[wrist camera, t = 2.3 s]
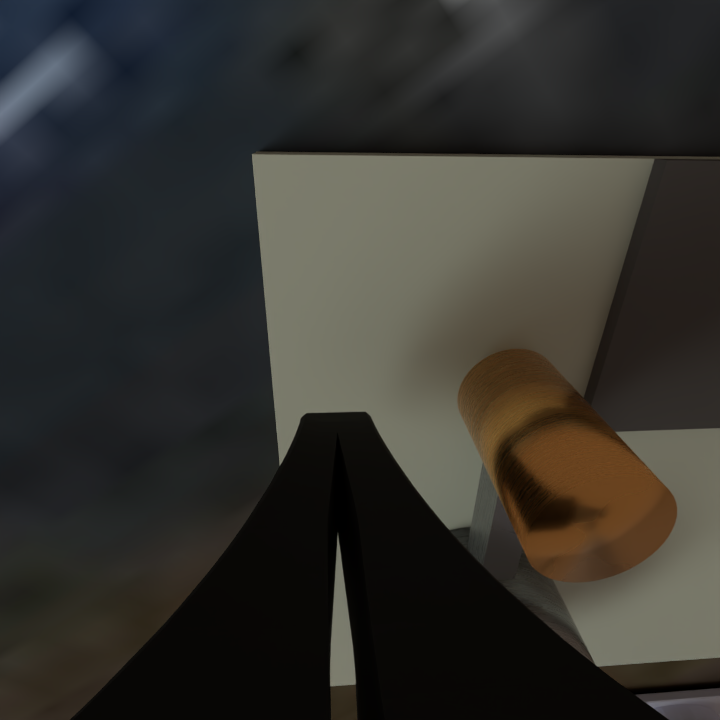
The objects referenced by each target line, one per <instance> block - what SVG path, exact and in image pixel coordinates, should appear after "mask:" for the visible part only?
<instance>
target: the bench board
mask: <svg viewBox="0 0 720 720" xmlns="http://www.w3.org/2000/svg"><path fill="white" fill-rule="evenodd" d="M654 159H720V157H692V156H603V155H514V154H425V153H336V152H255V153H254V154H252V160H253V171H254V182H255V193H256V204H257V216H258V227H259V238H260V249H261V260H262V271H263V282H264V294H265V305H266V316H267V327H268V338H269V349H270V360H271V371H272V383H273V394H274V405H275V416H276V427H277V438H278V449H279V461H280V465H281V463H282V461H283V459H284V458H285V456H286V454H287V452H288V449H289V447H290V445H291V443H292V441H293V439H294V436H295V434H296V431H297V429H298V426H299V423H300V419H301V417H302V416H304V415H305V414H306V413H327V412H367V413H368V414H369V415H370V416H371V418H372V420H373V422H374V424H375V426H376V428H377V430H378V432H379V434H380V436H381V437H382V439H383V441H384V442H385V444H386V446H387V447H388V449H389V451H390V452H391V454H392V455H393V457H394V458H395V460H396V461H397V463H398V464H399V466H400V467H401V469H402V470H403V472H404V473H405V474H406V476H407V477H408V479H409V480H410V481H411V483H412V484H413V486H414V487H415V488H416V490H417V491H418V492H419V494H420V495H421V496H422V498H423V499H424V500H425V501H426V503H427V504H428V505H429V506H430V508H431V509H432V510H433V511H434V512H435V514H436V515H437V516H438V517H439V519H440V520H441V521H442V522H443V523H444V524H445V526H446V527H447V528H448V529H449V530H452V529H457V528H464V527H471V523H472V517H473V512H474V506H475V501H476V496H477V490H478V485H479V480H480V474H481V469H482V463H483V462H482V460H481V457H480V455H479V453H478V451H477V449H476V447H475V444H474V442H473V440H472V438H471V436H470V434H469V432H468V429H467V427H466V425H465V423H464V421H463V419H462V417H461V414H460V412H459V409H458V402H457V399H458V392H459V388H460V386H461V383H462V381H463V379H464V378H465V376H466V375H467V373H468V372H469V371H470V370H471V369H472V368H473V367H474V366H475V365H476V364H477V363H479V362H480V361H481V360H483V359H484V358H486V357H488V356H490V355H492V354H494V353H497V352H500V351H504V350H509V349H526V350H531V351H534V352H537V353H539V354H541V355H543V356H544V357H545V358H547V359H548V360H549V361H550V362H551V363H552V364H553V366H554V367H555V368H556V369H557V370H558V371H559V372H560V373H561V374H562V375H563V376H564V377H565V378H566V380H567V381H568V382H569V383H570V384H571V385H572V386H573V387H574V388H575V389H576V390H577V391H578V392H579V394H580V395H581V396H582V397H583V398H584V395H585V392H586V388H587V385H588V382H589V378H590V375H591V371H592V368H593V365H594V361H595V358H596V355H597V351H598V348H599V345H600V341H601V338H602V334H603V331H604V328H605V324H606V321H607V318H608V314H609V311H610V308H611V304H612V301H613V297H614V294H615V291H616V287H617V284H618V281H619V277H620V274H621V270H622V267H623V264H624V260H625V257H626V254H627V250H628V247H629V244H630V240H631V237H632V233H633V230H634V227H635V223H636V220H637V217H638V213H639V210H640V207H641V203H642V200H643V196H644V193H645V190H646V186H647V183H648V180H649V176H650V173H651V170H652V166H653V163H654ZM616 433H617V434H618V436H619V437H620V438H621V439H622V440H623V441H624V442H625V443H626V444H627V445H628V446H629V447H630V448H631V449H632V451H633V452H634V453H635V454H636V455H637V456H638V457H639V458H640V459H641V460H642V461H643V462H644V463H645V465H646V466H647V467H648V468H649V469H650V470H651V471H652V472H653V473H654V474H655V475H656V476H657V477H658V479H659V480H660V481H661V482H662V483H663V484H664V485H665V486H666V487H667V488H668V489H669V490H670V492H671V493H672V495H673V496H674V498H675V501H676V504H677V518H676V522H675V525H674V527H673V530H672V532H671V533H670V535H669V537H668V538H667V539H666V541H665V542H664V543H663V544H662V545H661V547H660V548H659V549H658V550H657V551H655V552H654V553H653V554H652V555H651V556H650V557H648V558H647V559H646V560H644V561H643V562H641V563H640V564H638V565H636V566H635V567H633V568H631V569H629V570H627V571H625V572H622V573H620V574H617V575H615V576H612V577H609V578H605V579H601V580H596V581H591V582H579V583H572V582H562V581H557V580H553V581H554V583H555V585H556V587H557V589H558V591H559V593H560V595H561V597H562V599H563V601H564V603H565V605H566V607H567V609H568V611H569V613H570V615H571V617H572V619H573V621H574V623H575V625H576V627H577V629H578V631H579V633H580V635H581V637H582V639H583V641H584V643H585V645H586V647H587V649H588V651H589V653H590V655H591V657H592V659H593V661H594V663H595V665H596V666H610V665H623V664H637V663H650V662H664V661H677V660H691V659H704V658H718V657H720V428H710V429H682V430H653V431H625V432H616ZM354 684H356V679H355V665H354V654H353V644H352V636H351V629H350V621H349V613H348V606H347V598H346V591H345V583H344V576H343V568H342V561H341V553H340V545H339V538H338V539H337V555H336V571H335V587H334V603H333V619H332V635H331V658H330V686H340V685H354Z"/></svg>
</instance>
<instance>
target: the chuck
mask: <svg viewBox="0 0 720 720" xmlns="http://www.w3.org/2000/svg"><path fill="white" fill-rule="evenodd" d="M470 528H471V527H464V528H457V529H452V530H450V531H451V532H452V534H453V535H454V536H455V537H456V538H457V539H458V540H459V541H460V542H461V543H462V544H463V546H464V547H465V548H466V549H467V550H468V551H469V548H468V545H467V544H468V539H469V533H470ZM469 552H470V551H469ZM498 581H499V582H500V583H501V584H502V585H503V586H504V587H505V588H506V589H507V590H508V591H510V592H511V593H512V594H513V595H514V596H515V597H516V598H517V599H519V600H520V601H521V602H522V603H523V604H524V605H525V606H526V607H528V608H529V609H530V610H531V611H532V612H533V613H534V614H535V615H537V616H538V617H539V618H540V619H541V620H542V621H543V622H545V623H546V624H547V625H548V626H549V627H550V628H551V629H552V630H554V631H555V632H556V633H557V634H558V635H559V636H560V637H561V638H563V639H564V640H565V641H566V642H568V643H569V644H570V645H571V646H573V647H574V648H575V649H576V650H577V651H579V652H580V653H581V654H582V655H584V656H585V657H586V658H587V659H589V660H590V661H591V662H592V663H594V661H593V659H592V657H591V655H590V653H589V651H588V649H587V647H586V645H585V643H584V641H583V639H582V637H581V635H580V633H579V631H578V629H577V627H576V625H575V623H574V621H573V619H572V617H571V615H570V613H569V611H568V609H567V607H566V605H565V603H564V601H563V599H562V597H561V595H560V593H559V591H558V589H557V587H556V585H555V583H554V581H553V579H550V578H548V577H546V576H543V575H542V574H540V573H539V572H537V571H536V570H535V569H534V568H533V567H532V565H531V564H530V563H529V561H528V558H527V556H526V554H525V552H524V550H522V553H521V557H520V561H519V564H518V568H517V572H516V575H515V579H499V580H498ZM594 664H595V663H594Z"/></svg>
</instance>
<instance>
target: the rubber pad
mask: <svg viewBox="0 0 720 720" xmlns="http://www.w3.org/2000/svg"><path fill="white" fill-rule="evenodd" d="M584 399H585V400H586V401H587V402H588V403H589V404H590V405H591V406H592V408H593V409H594V410H595V411H596V412H597V413H598V414H599V415H600V416H601V417H602V418H603V419H604V420H605V422H606V423H607V424H608V425H609V426H610V427H611V428H612V429H613V430H614V431H615V432H625V431H653V430H682V429H710V428H720V159H654V163H653V166H652V170H651V173H650V176H649V180H648V183H647V186H646V190H645V193H644V196H643V200H642V203H641V207H640V210H639V213H638V217H637V220H636V223H635V227H634V230H633V233H632V237H631V240H630V244H629V247H628V250H627V254H626V257H625V260H624V264H623V267H622V270H621V274H620V277H619V281H618V284H617V287H616V291H615V294H614V297H613V301H612V304H611V308H610V311H609V314H608V318H607V321H606V324H605V328H604V331H603V334H602V338H601V341H600V345H599V348H598V351H597V355H596V358H595V361H594V365H593V368H592V371H591V375H590V378H589V382H588V385H587V388H586V392H585V395H584Z"/></svg>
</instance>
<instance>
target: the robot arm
mask: <svg viewBox="0 0 720 720" xmlns="http://www.w3.org/2000/svg"><path fill="white" fill-rule="evenodd" d="M338 538H339V545H340V553H341V561H342V568H343V576H344V583H345V591H346V598H347V606H348V613H349V621H350V629H351V636H352V644H353V654H354V665H355V679H356V699H357V718H358V720H720V688H711V689H699V690H686V691H674V692H661V693H648V694H636V695H634V694H633V693H632V692H630V691H629V690H628V689H626V688H625V687H623V686H622V685H621V684H619V683H618V682H617V681H615V680H614V679H612V678H611V677H610V676H609V675H607V674H606V673H605V672H603V671H602V670H601V669H600V668H599V667H597V666H596V665H595V664H594V663H592V662H591V661H590V660H589V659H587V658H586V657H585V656H584V655H582V654H581V653H580V652H579V651H577V650H576V649H575V648H574V647H573V646H571V645H570V644H569V643H568V642H566V641H565V640H564V639H563V638H561V637H560V636H559V635H558V634H557V633H556V632H555V631H554V630H552V629H551V628H550V627H549V626H548V625H547V624H546V623H545V622H543V621H542V620H541V619H540V618H539V617H538V616H537V615H535V614H534V613H533V612H532V611H531V610H530V609H529V608H528V607H526V606H525V605H524V604H523V603H522V602H521V601H520V600H519V599H517V598H516V597H515V596H514V595H513V594H512V593H511V592H510V591H508V590H507V589H506V588H505V587H504V586H503V585H502V584H501V583H500V582H499V581H498V580H497V579H496V578H495V577H494V576H493V575H492V574H491V573H490V572H489V571H488V570H487V569H486V568H485V567H484V566H483V565H482V564H481V563H480V562H479V561H478V560H477V559H476V558H475V557H474V556H473V555H472V554H471V553H470V552H469V551H468V550H467V549H466V548H465V547H464V546H463V544H462V543H461V542H460V541H459V540H458V539H457V538H456V537H455V536H454V535H453V534H452V532H451V531H450V530H449V529H448V528H447V527H446V526H445V524H444V523H443V522H442V521H441V520H440V519H439V517H438V516H437V515H436V514H435V512H434V511H433V510H432V509H431V508H430V506H429V505H428V504H427V503H426V501H425V500H424V499H423V498H422V496H421V495H420V494H419V492H418V491H417V490H416V488H415V487H414V486H413V484H412V483H411V481H410V480H409V479H408V477H407V476H406V474H405V473H404V472H403V470H402V469H401V467H400V466H399V464H398V463H397V461H396V460H395V458H394V457H393V455H392V454H391V452H390V451H389V449H388V447H387V446H386V444H385V442H384V441H383V439H382V437H381V436H380V434H379V432H378V430H377V428H376V426H375V424H374V422H373V420H372V418H371V416H370V415H369V414H368V413H367V412H327V413H306V414H305V415H304V416H302V417H301V419H300V423H299V426H298V429H297V431H296V434H295V436H294V439H293V441H292V443H291V445H290V447H289V449H288V452H287V454H286V456H285V458H284V459H283V461H282V463H281V465H280V467H279V469H278V470H277V472H276V474H275V476H274V478H273V480H272V481H271V483H270V485H269V487H268V488H267V490H266V491H265V493H264V495H263V496H262V498H261V499H260V501H259V502H258V504H257V506H256V507H255V509H254V510H253V512H252V513H251V515H250V516H249V518H248V520H247V521H246V523H245V524H244V525H243V527H242V528H241V530H240V531H239V533H238V534H237V535H236V537H235V538H234V540H233V541H232V542H231V544H230V545H229V546H228V548H227V549H226V550H225V552H224V553H223V554H222V556H221V557H220V558H219V559H218V561H217V562H216V563H215V565H214V566H213V567H212V568H211V570H210V571H209V572H208V573H207V575H206V576H205V577H204V578H203V579H202V581H201V582H200V583H199V584H198V585H197V587H196V588H195V589H194V590H193V591H192V593H191V594H190V595H189V596H188V597H187V598H186V600H185V601H184V602H183V603H182V604H181V606H180V607H179V608H178V609H177V610H176V611H175V612H174V614H173V615H172V616H171V617H170V618H169V619H168V620H167V621H166V623H165V624H164V625H163V626H162V627H161V628H160V629H159V630H158V631H157V632H156V633H155V634H154V635H153V637H152V638H151V639H150V640H149V641H148V642H147V643H146V644H145V645H144V646H143V647H142V648H141V649H140V650H139V651H138V652H137V653H136V654H135V655H134V656H133V657H132V658H131V659H130V660H129V661H128V662H127V663H126V664H125V665H124V666H123V667H122V669H121V670H120V671H119V672H118V673H117V674H116V675H115V676H114V677H113V678H112V679H111V680H110V681H109V682H108V683H107V684H106V685H105V686H104V687H103V688H102V689H101V690H100V691H99V692H98V693H97V694H96V695H95V696H94V697H93V698H92V699H91V700H90V701H89V702H88V703H87V704H86V705H85V706H84V707H83V708H82V709H81V710H80V711H79V712H78V713H77V714H76V715H75V716H73V717H72V718H71V719H70V720H331V697H330V658H331V635H332V619H333V603H334V587H335V571H336V555H337V539H338Z"/></svg>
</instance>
